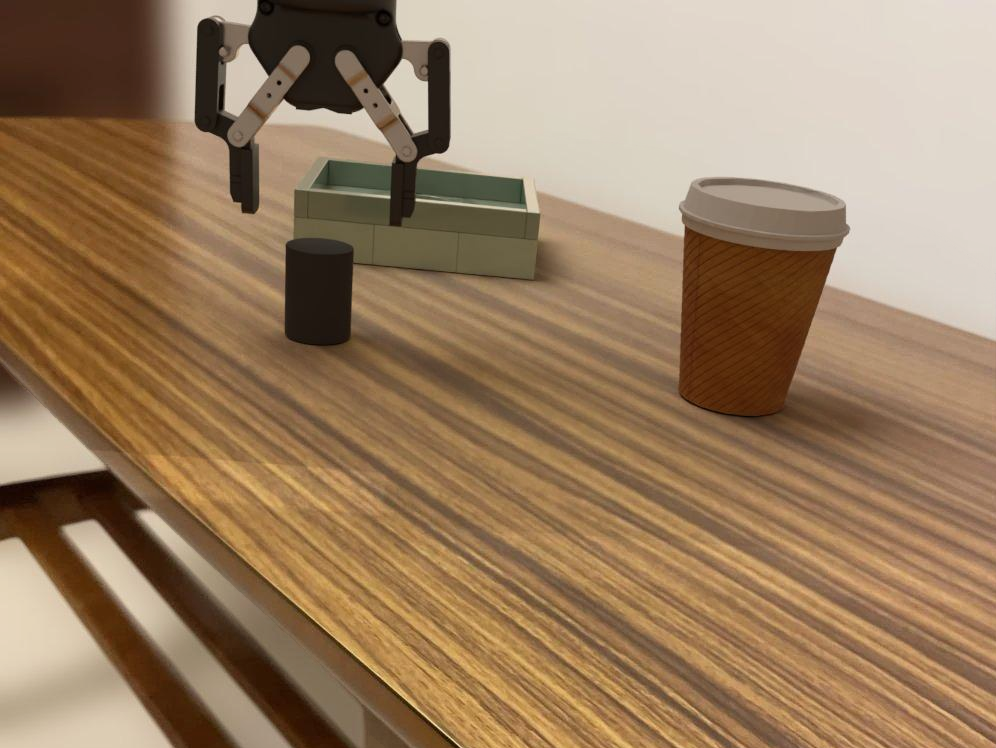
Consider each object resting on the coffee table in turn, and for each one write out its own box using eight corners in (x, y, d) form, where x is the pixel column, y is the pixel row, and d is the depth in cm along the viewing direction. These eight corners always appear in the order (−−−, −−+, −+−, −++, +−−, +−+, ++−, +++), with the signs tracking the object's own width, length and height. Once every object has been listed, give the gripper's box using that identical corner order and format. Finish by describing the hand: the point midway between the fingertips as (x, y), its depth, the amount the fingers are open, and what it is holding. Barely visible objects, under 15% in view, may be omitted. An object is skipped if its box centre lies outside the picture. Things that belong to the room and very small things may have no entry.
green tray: (293, 257, 92) (293, 216, 90) (317, 215, 105) (317, 179, 103) (533, 280, 93) (537, 240, 92) (527, 236, 106) (531, 200, 105)
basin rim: (293, 216, 90) (294, 189, 89) (317, 180, 103) (317, 156, 102) (537, 240, 92) (540, 213, 91) (531, 202, 104) (534, 178, 103)
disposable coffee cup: (788, 376, 78) (827, 184, 73) (830, 433, 70) (877, 219, 64) (640, 365, 77) (669, 169, 72) (664, 420, 69) (699, 203, 63)
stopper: (279, 341, 74) (281, 250, 71) (289, 322, 77) (290, 234, 75) (347, 347, 74) (350, 257, 72) (353, 328, 78) (356, 241, 75)
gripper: (176, -105, 62) (187, 221, 69) (461, -76, 63) (442, 243, 70) (207, -103, 68) (214, 195, 75) (464, -76, 69) (446, 215, 77)
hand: (324, 218), depth 73 cm, fingers open, 8 cm apart
